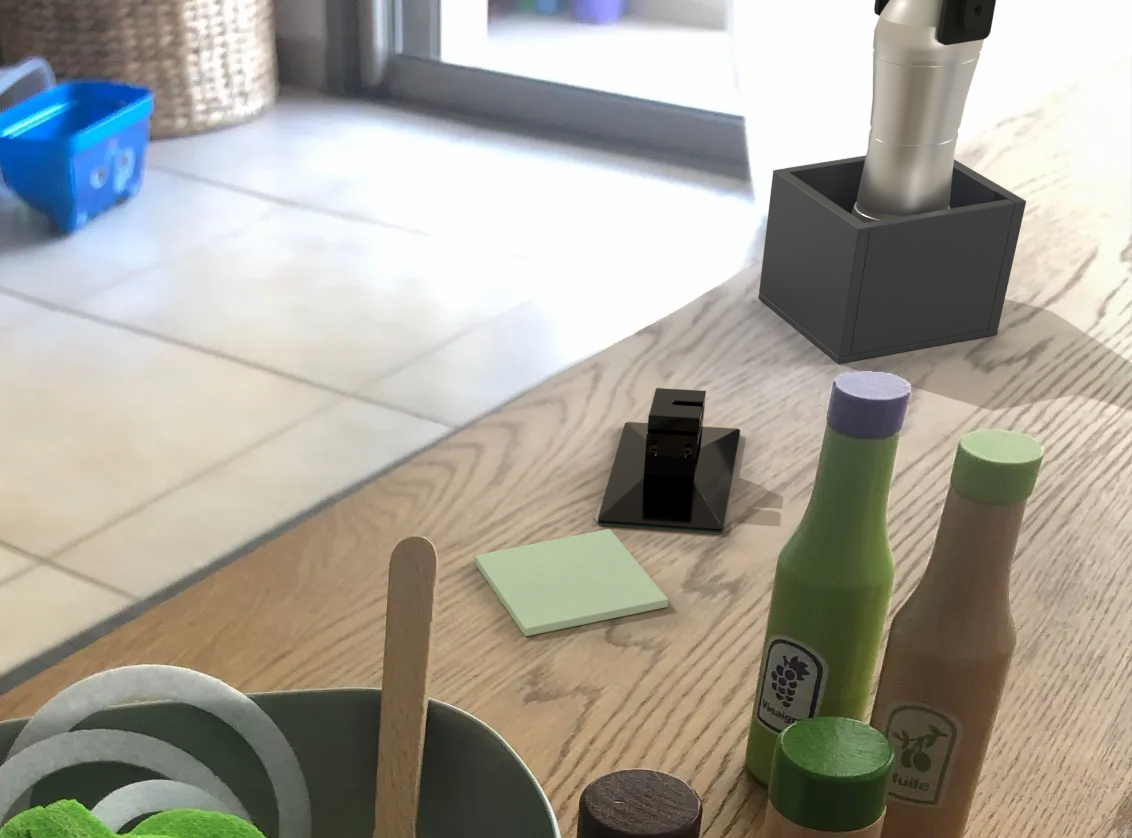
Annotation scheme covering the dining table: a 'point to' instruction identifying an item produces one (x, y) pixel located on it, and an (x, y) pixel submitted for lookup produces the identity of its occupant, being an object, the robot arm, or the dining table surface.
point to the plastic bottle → (913, 113)
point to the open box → (886, 262)
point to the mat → (569, 582)
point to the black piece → (671, 469)
